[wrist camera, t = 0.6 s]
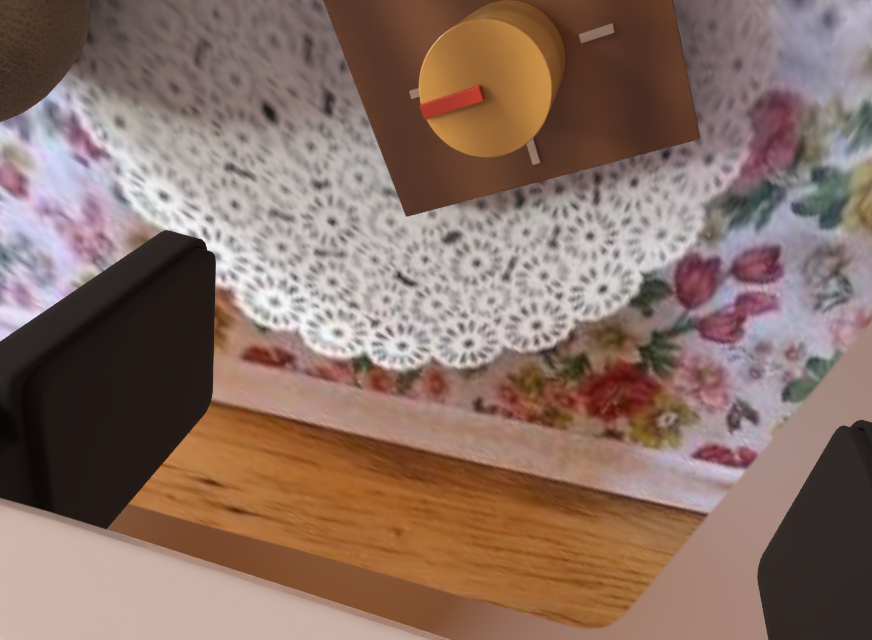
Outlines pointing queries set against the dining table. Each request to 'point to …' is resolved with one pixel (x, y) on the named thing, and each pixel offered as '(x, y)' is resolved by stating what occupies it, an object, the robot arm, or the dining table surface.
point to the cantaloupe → (37, 48)
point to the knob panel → (571, 110)
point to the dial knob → (492, 79)
